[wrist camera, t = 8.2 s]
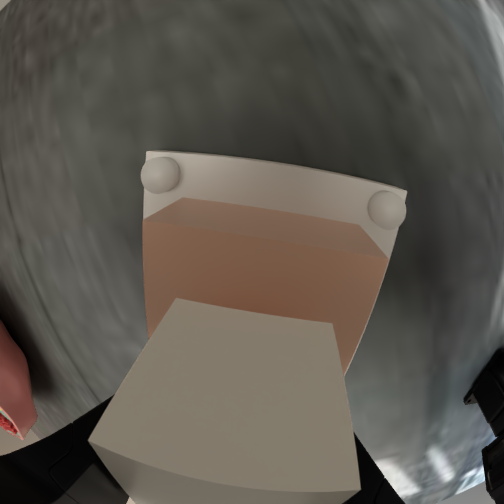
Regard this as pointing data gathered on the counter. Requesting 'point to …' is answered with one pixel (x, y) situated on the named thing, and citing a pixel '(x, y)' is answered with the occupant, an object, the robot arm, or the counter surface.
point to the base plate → (275, 190)
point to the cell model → (15, 388)
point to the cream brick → (232, 413)
